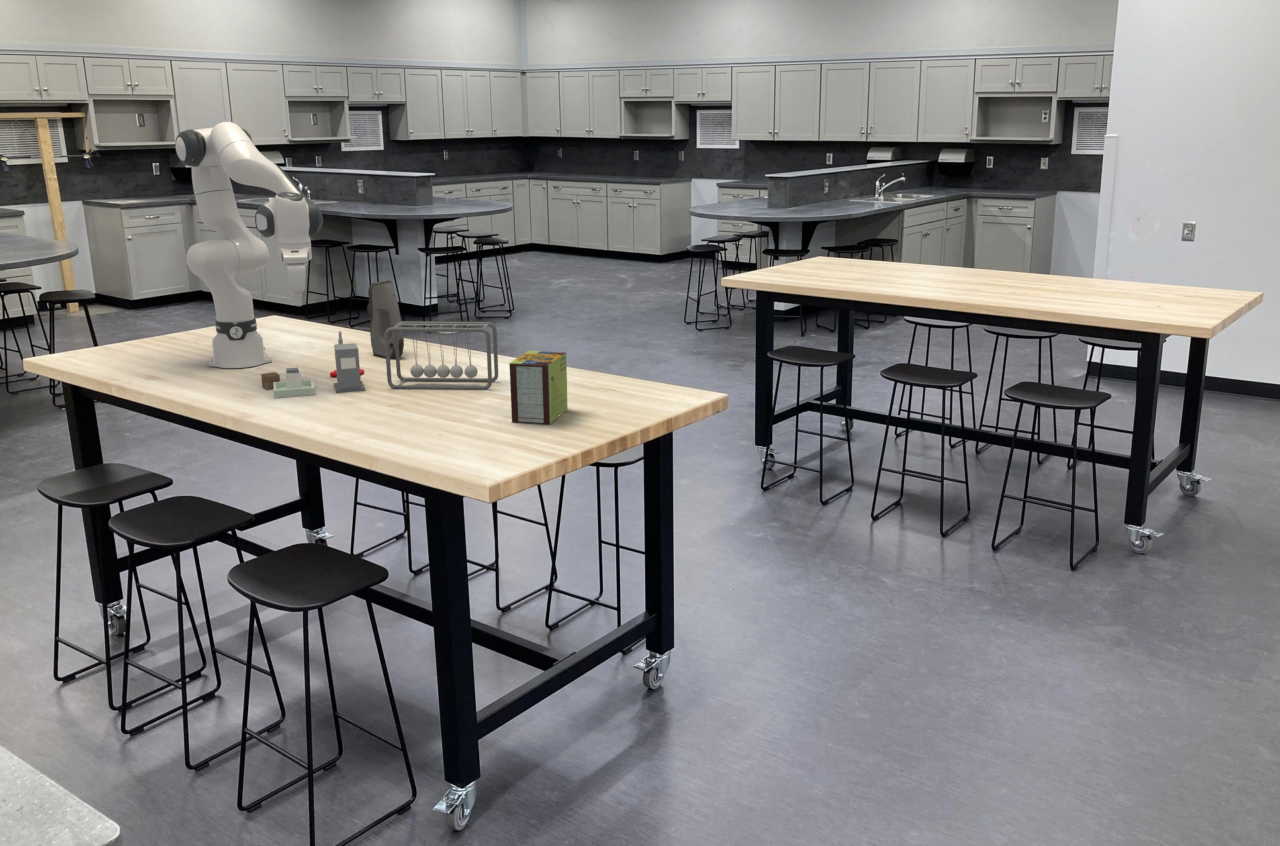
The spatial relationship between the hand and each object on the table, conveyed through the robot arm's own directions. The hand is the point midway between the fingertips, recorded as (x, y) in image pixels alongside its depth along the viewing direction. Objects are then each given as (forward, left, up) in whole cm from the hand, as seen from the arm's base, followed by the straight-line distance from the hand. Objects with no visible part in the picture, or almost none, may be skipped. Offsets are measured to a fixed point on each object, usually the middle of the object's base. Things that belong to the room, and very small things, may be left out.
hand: (298, 302), depth 294 cm
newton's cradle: (+11, +38, -25) cm, 46 cm away
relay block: (+4, -3, -24) cm, 25 cm away
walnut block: (-4, -9, -25) cm, 27 cm away
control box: (+4, +12, -25) cm, 27 cm away
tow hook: (-14, +13, -25) cm, 31 cm away
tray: (+4, -3, -24) cm, 25 cm away
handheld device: (-36, +28, -25) cm, 51 cm away
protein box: (+52, +56, -25) cm, 80 cm away
